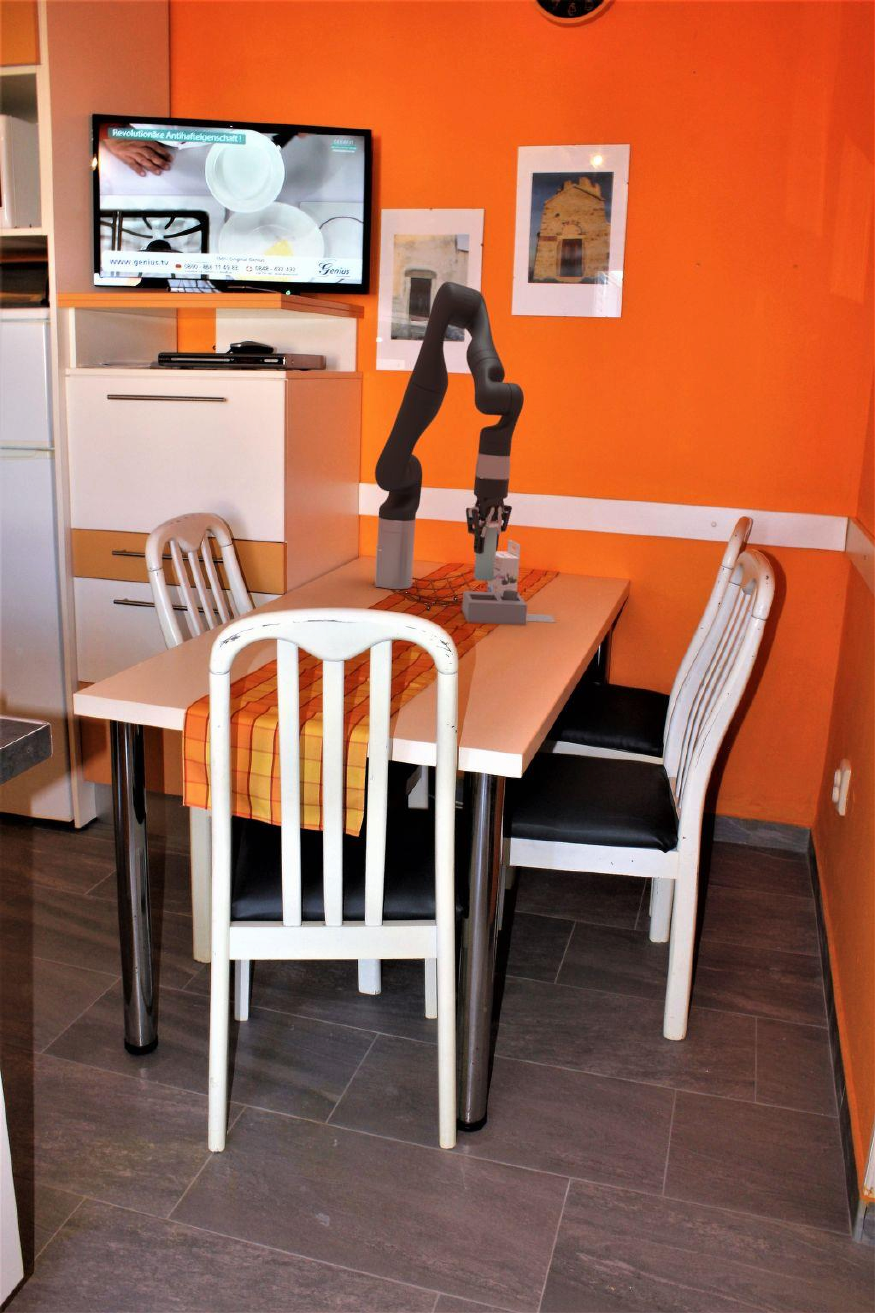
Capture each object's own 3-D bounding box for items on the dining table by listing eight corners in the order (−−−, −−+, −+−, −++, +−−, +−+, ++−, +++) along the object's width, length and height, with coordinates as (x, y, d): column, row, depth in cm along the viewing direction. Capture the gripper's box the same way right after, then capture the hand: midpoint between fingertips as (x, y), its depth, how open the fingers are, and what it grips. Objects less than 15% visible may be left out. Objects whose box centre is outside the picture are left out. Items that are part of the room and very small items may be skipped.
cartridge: (468, 578, 251) (472, 521, 248) (481, 575, 255) (485, 520, 251) (485, 581, 248) (489, 524, 245) (498, 579, 252) (503, 522, 248)
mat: (525, 623, 252) (525, 620, 252) (520, 616, 259) (520, 613, 259) (555, 624, 253) (555, 622, 253) (550, 617, 260) (550, 615, 260)
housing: (467, 624, 248) (469, 602, 246) (462, 612, 259) (463, 590, 258) (525, 626, 249) (527, 605, 248) (517, 614, 260) (519, 593, 259)
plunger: (502, 616, 252) (504, 592, 251) (500, 613, 256) (502, 589, 254) (516, 617, 253) (518, 593, 251) (514, 614, 256) (516, 590, 254)
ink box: (485, 597, 277) (490, 538, 273) (504, 597, 278) (509, 538, 275) (497, 605, 269) (502, 544, 265) (516, 605, 271) (521, 544, 267)
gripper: (498, 472, 253) (492, 546, 257) (458, 474, 242) (452, 551, 247) (525, 476, 248) (517, 552, 253) (485, 478, 238) (478, 557, 242)
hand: (485, 551), depth 250 cm, fingers closed on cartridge, 4 cm apart
